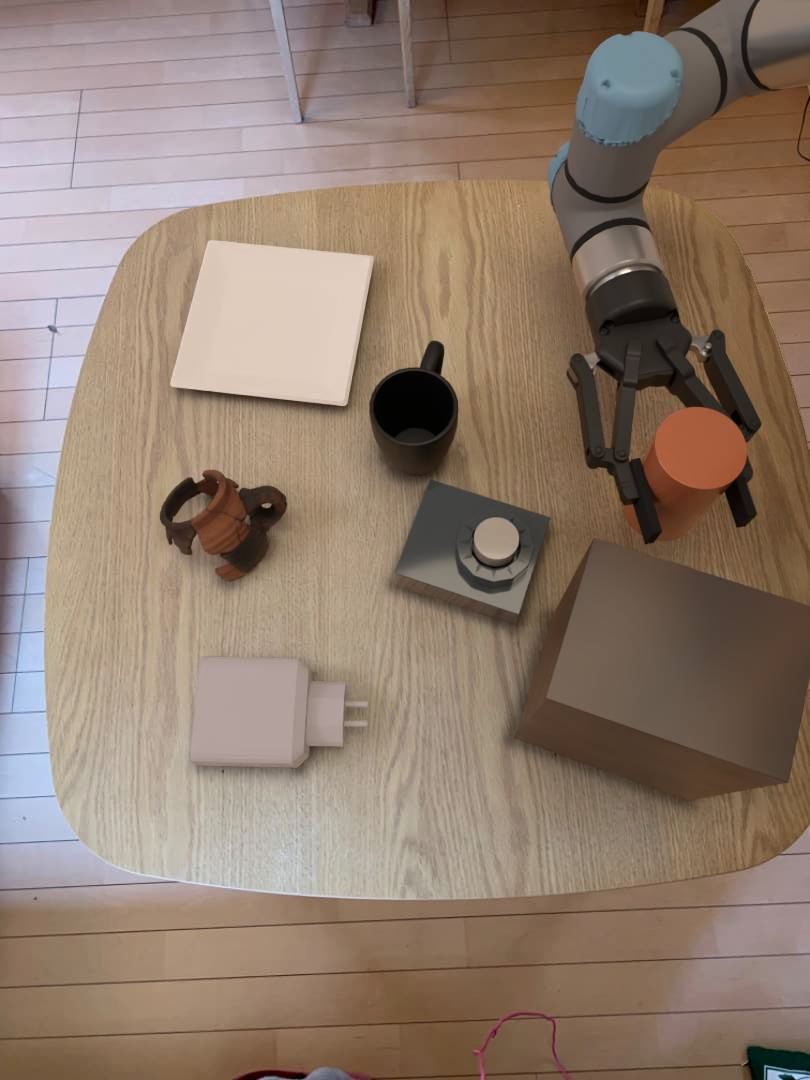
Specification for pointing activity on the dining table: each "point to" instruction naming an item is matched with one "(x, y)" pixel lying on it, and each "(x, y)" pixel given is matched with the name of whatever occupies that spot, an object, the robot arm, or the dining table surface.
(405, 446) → the mug
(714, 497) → the orange cylinder
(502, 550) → the round white push button
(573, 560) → the dining table surface
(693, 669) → the stand
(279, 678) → the charger
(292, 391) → the plate
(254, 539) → the pottery mug
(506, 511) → the gray button box
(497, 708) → the dining table surface
